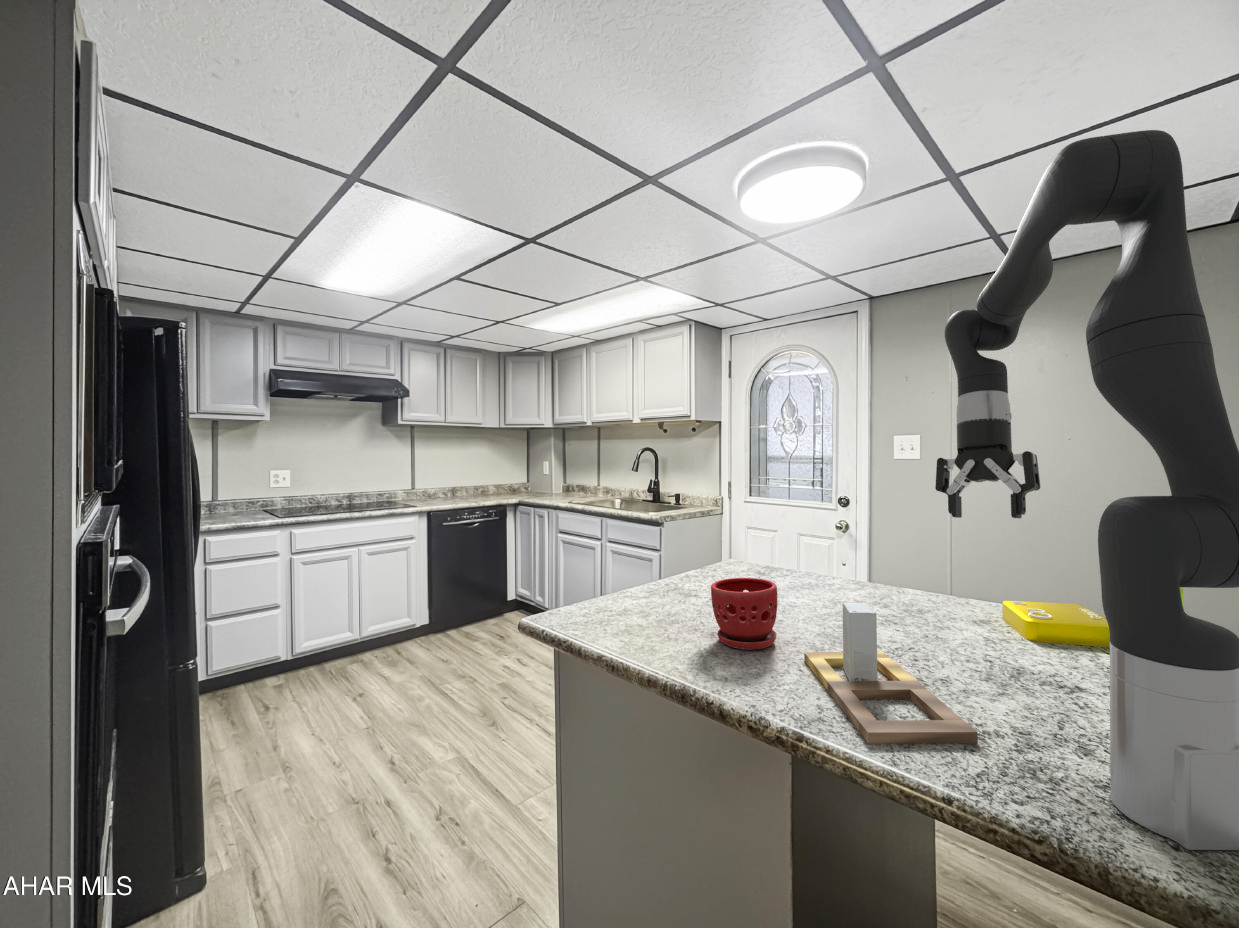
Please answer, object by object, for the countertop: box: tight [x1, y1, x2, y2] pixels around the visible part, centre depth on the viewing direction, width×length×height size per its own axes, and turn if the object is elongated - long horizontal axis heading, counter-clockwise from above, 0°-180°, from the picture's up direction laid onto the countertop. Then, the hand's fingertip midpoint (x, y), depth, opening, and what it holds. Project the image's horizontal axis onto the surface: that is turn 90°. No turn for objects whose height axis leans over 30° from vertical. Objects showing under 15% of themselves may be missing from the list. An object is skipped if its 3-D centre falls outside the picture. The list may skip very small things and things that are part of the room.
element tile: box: [1001, 600, 1110, 648], centre depth 105 cm, size 15×15×5 cm
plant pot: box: [710, 577, 778, 651], centre depth 105 cm, size 13×13×12 cm
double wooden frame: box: [803, 650, 979, 745], centre depth 81 cm, size 27×14×2 cm, turn 177°
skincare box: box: [842, 602, 879, 681], centre depth 87 cm, size 6×4×12 cm
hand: (985, 517), depth 85 cm, fingers open, 8 cm apart
